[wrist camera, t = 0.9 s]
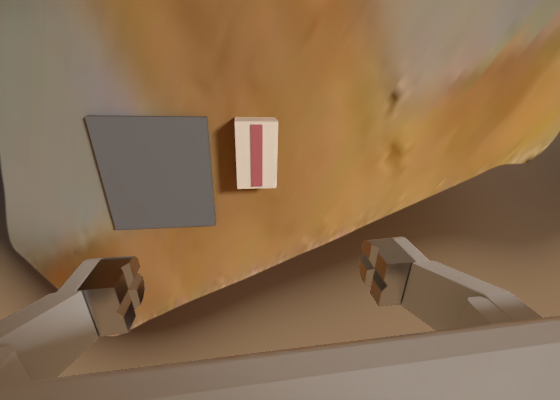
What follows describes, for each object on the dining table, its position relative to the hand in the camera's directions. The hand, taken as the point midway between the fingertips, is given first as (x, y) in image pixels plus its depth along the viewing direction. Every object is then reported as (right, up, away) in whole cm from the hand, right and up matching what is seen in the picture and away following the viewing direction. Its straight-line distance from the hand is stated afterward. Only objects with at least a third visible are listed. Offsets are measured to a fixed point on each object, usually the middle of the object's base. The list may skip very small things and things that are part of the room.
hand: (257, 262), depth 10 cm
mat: (-18, +6, +32) cm, 37 cm away
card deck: (-3, +10, +33) cm, 34 cm away
